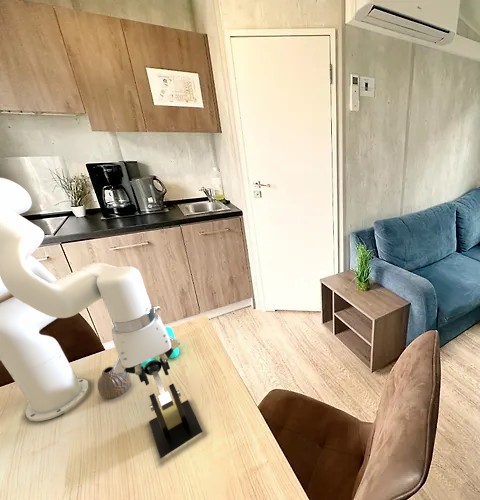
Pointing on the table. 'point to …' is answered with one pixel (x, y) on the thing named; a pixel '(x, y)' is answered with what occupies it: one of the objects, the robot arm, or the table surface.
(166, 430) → the black lever base
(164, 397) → the ball knob lever
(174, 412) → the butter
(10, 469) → the table surface
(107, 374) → the vase
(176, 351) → the turquoise capsule pair
